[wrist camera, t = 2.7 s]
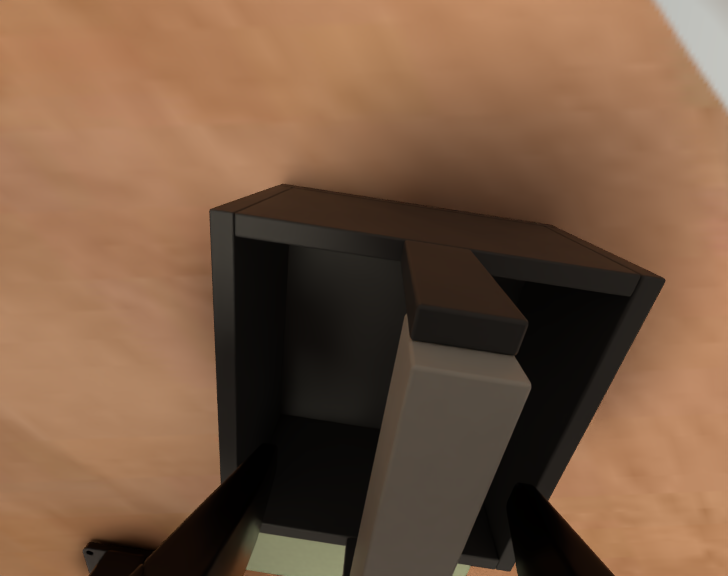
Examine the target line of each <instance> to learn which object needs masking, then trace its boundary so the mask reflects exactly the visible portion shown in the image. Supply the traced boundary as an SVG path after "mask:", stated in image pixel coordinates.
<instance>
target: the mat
mask: <svg viewBox="0 0 728 576" xmlns="http://www.w3.org/2000/svg"><path fill="white" fill-rule="evenodd" d="M345 547H346V546H341V545H335V544H329V543H322V542H316V541H309V540H303V539H297V538H290V537H284V536H277V535H271V534H265V533H259V535H258V538H257V541H256V544H255V547H254V550H253V552H252V555H251V557H250V560H249V562H248V565H247V568H246V570H251V571H257V572H264V573H270V574H277V575H283V576H342V575H343V565H344V555H345ZM469 568H470V566H469V565H463V564H457V566H456V568H455V570H454V573H453V575H452V576H466V575H467V573H468V571H469Z"/></svg>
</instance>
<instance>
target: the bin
mask: <svg viewBox="0 0 728 576" xmlns="http://www.w3.org/2000/svg"><path fill="white" fill-rule="evenodd" d="M209 213H210V237H211V261H212V284H213V308H214V332H215V355H216V379H217V403H218V426H219V450H220V474H221V484H222V483H223V482H224V481H225V480H226V479H227V478H228V477H229V476H230V475H231V474H232V473H233V472H234V471H235V470H236V469H237V468H238V467H239V466H240V465H241V464H242V463H243V462H244V461H245V460H246V459H247V458H248V457H249V456H250V455H251V454H252V453H253V452H254V451H255V450H256V449H257V448H258V447H259V446H260V445H261V444H263V443H269V444H275V445H277V447H278V455H277V469H276V474H275V478H274V482H273V485H272V489H271V492H270V496H269V500H268V503H267V507H266V510H265V514H264V518H263V521H262V525H261V528H260V532H259V533H265V534H271V535H277V536H284V537H290V538H297V539H303V540H309V541H316V542H322V543H329V544H335V545H341V546H346V547H345V555H344V565H343V575H342V576H452V575H453V573H454V570H455V568H456V566H457V564H463V565H469V566H476V567H482V568H489V569H495V568H496V569H497V570H503V571H511V569H512V567H513V566H514V564H515V557H514V551H513V545H512V540H511V534H510V528H509V523H508V517H507V511H506V505H507V501H508V499H509V496H510V494H511V492H512V490H513V488H514V486H515V484H516V483H519V482H520V483H526V484H531V485H533V486H534V487H536V488H537V490H538V491H539V492H540V493H541V494H542V495H543V496H544V497H545V498H546V500H547V501H548V500H549V498H550V496H551V494H552V493H553V491H554V489H555V487H556V485H557V483H558V481H559V480H560V478H561V476H562V474H563V472H564V470H565V468H566V466H567V465H568V463H569V461H570V459H571V457H572V455H573V453H574V451H575V450H576V448H577V446H578V444H579V442H580V440H581V438H582V437H583V435H584V433H585V431H586V429H587V427H588V425H589V423H590V422H591V420H592V418H593V416H594V414H595V412H596V410H597V408H598V407H599V405H600V403H601V401H602V399H603V397H604V395H605V394H606V392H607V390H608V388H609V386H610V384H611V382H612V380H613V379H614V377H615V375H616V373H617V371H618V369H619V367H620V365H621V364H622V362H623V360H624V358H625V356H626V354H627V352H628V351H629V349H630V347H631V345H632V343H633V341H634V339H635V337H636V336H637V334H638V332H639V330H640V328H641V326H642V324H643V322H644V321H645V319H646V317H647V315H648V313H649V311H650V309H651V308H652V306H653V304H654V302H655V300H656V298H657V296H658V294H659V293H660V291H661V289H662V287H663V285H664V283H665V279H664V278H663V277H660V276H658V275H656V274H654V273H652V272H650V271H648V270H646V269H644V268H641V267H639V266H637V265H635V264H633V263H631V262H629V261H627V260H625V259H622V258H620V257H618V256H616V255H614V254H612V253H610V252H608V251H605V250H603V249H601V248H599V247H597V246H595V245H593V244H591V243H589V242H586V241H584V240H582V239H580V238H578V237H576V236H574V235H572V234H569V233H567V232H565V231H563V230H561V229H559V228H557V227H555V226H553V225H548V224H541V223H535V222H528V221H522V220H515V219H509V218H502V217H496V216H489V215H482V214H476V213H469V212H463V211H456V210H450V209H443V208H437V207H430V206H423V205H417V204H410V203H404V202H397V201H391V200H384V199H378V198H371V197H365V196H358V195H351V194H345V193H338V192H332V191H325V190H319V189H312V188H306V187H299V186H293V185H286V184H281V185H278V186H275V187H272V188H269V189H266V190H263V191H261V192H258V193H255V194H252V195H249V196H246V197H243V198H241V199H238V200H235V201H232V202H229V203H226V204H224V205H221V206H218V207H215V208H212V209H210V211H209Z"/></svg>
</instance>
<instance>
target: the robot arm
mask: <svg viewBox="0 0 728 576" xmlns="http://www.w3.org/2000/svg"><path fill="white" fill-rule="evenodd" d="M277 455H278V447H277V445H275V444H269V443H263V444H261V445H260V446H259V447H258V448H257V449H256V450H255V451H254V452H253V453H252V454H251V455H250V456H249V457H248V458H247V459H246V460H245V461H244V462H243V463H242V464H241V465H240V466H239V467H238V468H237V469H236V470H235V471H234V472H233V473H232V474H231V475H230V476H229V477H228V478H227V479H226V480H225V481H224V482H223V483H222V484H221V485H220V486H219V487H218V488H217V489H216V490H215V491H214V492H213V493H212V494H211V495H210V496H209V497H208V498H207V499H206V500H205V501H204V502H203V503H202V504H201V505H200V506H199V507H198V508H197V509H196V510H195V511H194V512H193V513H192V514H191V515H190V516H189V517H188V518H187V519H186V520H185V521H184V522H183V523H182V524H181V525H180V526H179V527H178V528H177V529H176V530H175V531H174V532H173V533H172V534H171V535H170V536H169V537H168V538H167V539H166V540H165V541H164V542H163V543H162V544H161V545H160V546H159V547H158V548H157V549H156V550H155V551H154V552H152V551H146V550H139V549H133V548H127V547H120V546H114V545H108V544H101V543H95V542H89V543H88V544H87V545H86V547H85V548H84V549H83V554H84V557H85V560H86V564H87V567H88V570H89V573H90V574H89V576H243V575H244V573H245V570H246V568H247V565H248V562H249V560H250V557H251V555H252V552H253V550H254V547H255V544H256V541H257V538H258V535H259V532H260V528H261V525H262V521H263V518H264V514H265V510H266V507H267V503H268V500H269V496H270V492H271V489H272V485H273V482H274V478H275V474H276V469H277ZM506 511H507V517H508V523H509V528H510V534H511V540H512V545H513V551H514V557H515V562H516V568H517V573H518V576H615V575H614V574H613V573H612V572H611V571H610V570H609V569H608V568H607V567H606V565H605V564H604V563H603V562H602V561H601V560H600V559H599V558H598V556H597V555H596V554H595V553H594V552H593V551H592V550H591V549H590V548H589V546H588V545H587V544H586V543H585V542H584V541H583V540H582V539H581V537H580V536H579V535H578V534H577V533H576V532H575V531H574V530H573V529H572V527H571V526H570V525H569V524H568V523H567V522H566V521H565V520H564V519H563V517H562V516H561V515H560V514H559V513H558V512H557V511H556V510H555V508H554V507H553V506H552V505H551V504H550V503H549V502H548V501H547V500H546V498H545V497H544V496H543V495H542V494H541V493H540V492H539V491H538V490H537V488H536V487H534V486H533V485H531V484H526V483H520V482H519V483H516V484H515V486H514V488H513V490H512V492H511V494H510V496H509V499H508V501H507V505H506Z"/></svg>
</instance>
